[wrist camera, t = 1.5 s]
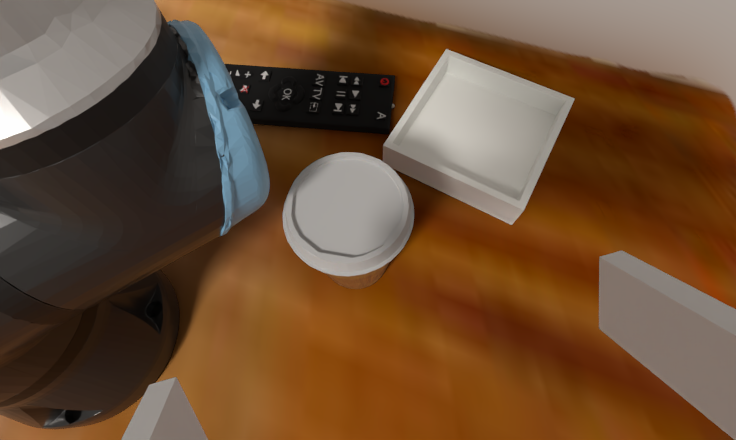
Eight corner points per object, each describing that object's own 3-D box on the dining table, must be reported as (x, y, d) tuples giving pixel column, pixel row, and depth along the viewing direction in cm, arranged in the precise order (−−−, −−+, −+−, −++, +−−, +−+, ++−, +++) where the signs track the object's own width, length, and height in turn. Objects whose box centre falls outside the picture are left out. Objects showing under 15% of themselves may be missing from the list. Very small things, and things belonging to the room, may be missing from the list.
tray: (382, 163, 42) (383, 145, 39) (441, 72, 47) (446, 48, 44) (511, 225, 39) (523, 210, 35) (560, 119, 44) (574, 98, 40)
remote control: (391, 137, 44) (392, 126, 42) (124, 116, 46) (114, 105, 44) (397, 85, 47) (397, 72, 45) (146, 67, 49) (137, 55, 47)
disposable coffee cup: (287, 263, 38) (249, 212, 27) (351, 196, 40) (341, 125, 29) (361, 328, 35) (353, 301, 24) (424, 251, 38) (443, 195, 27)
